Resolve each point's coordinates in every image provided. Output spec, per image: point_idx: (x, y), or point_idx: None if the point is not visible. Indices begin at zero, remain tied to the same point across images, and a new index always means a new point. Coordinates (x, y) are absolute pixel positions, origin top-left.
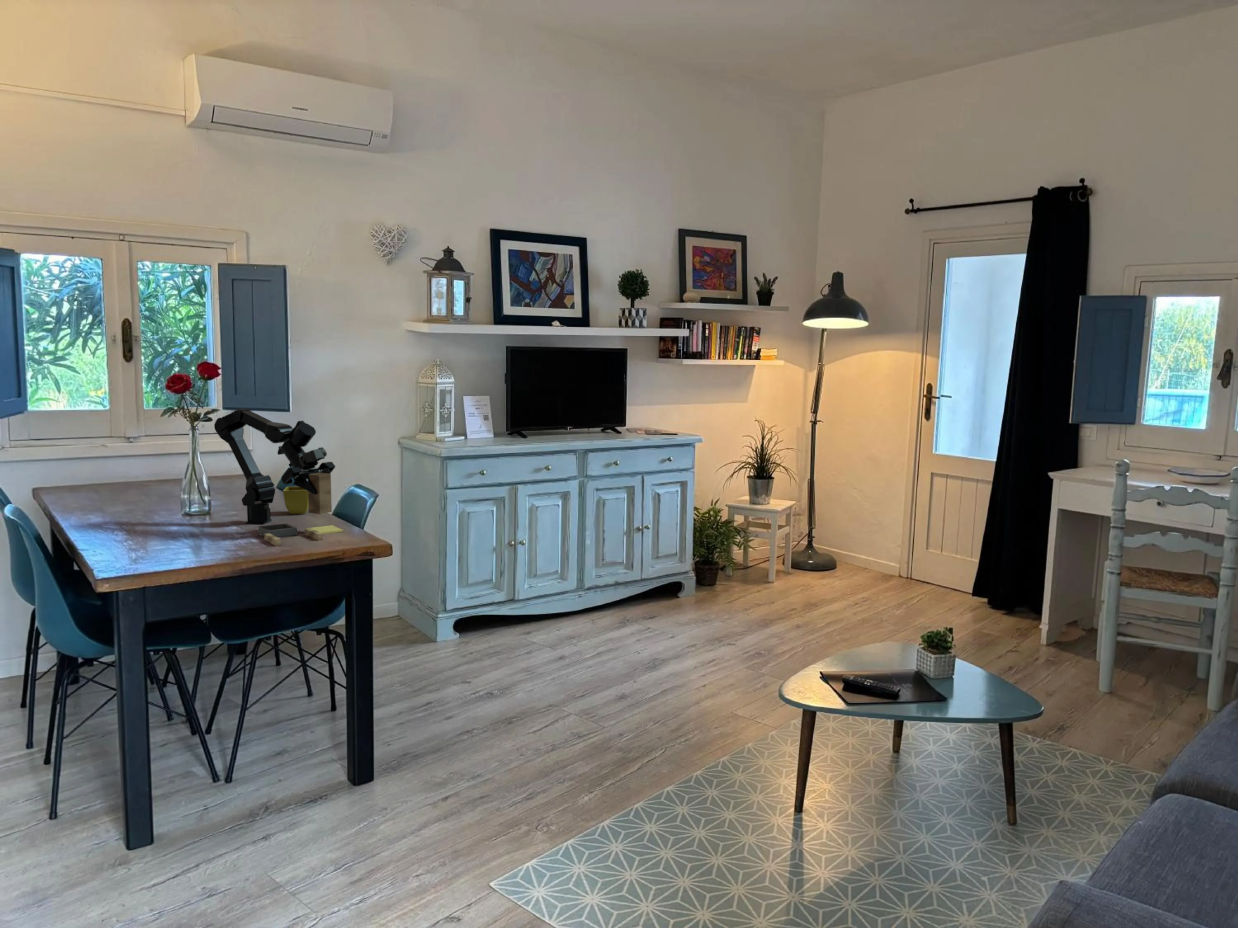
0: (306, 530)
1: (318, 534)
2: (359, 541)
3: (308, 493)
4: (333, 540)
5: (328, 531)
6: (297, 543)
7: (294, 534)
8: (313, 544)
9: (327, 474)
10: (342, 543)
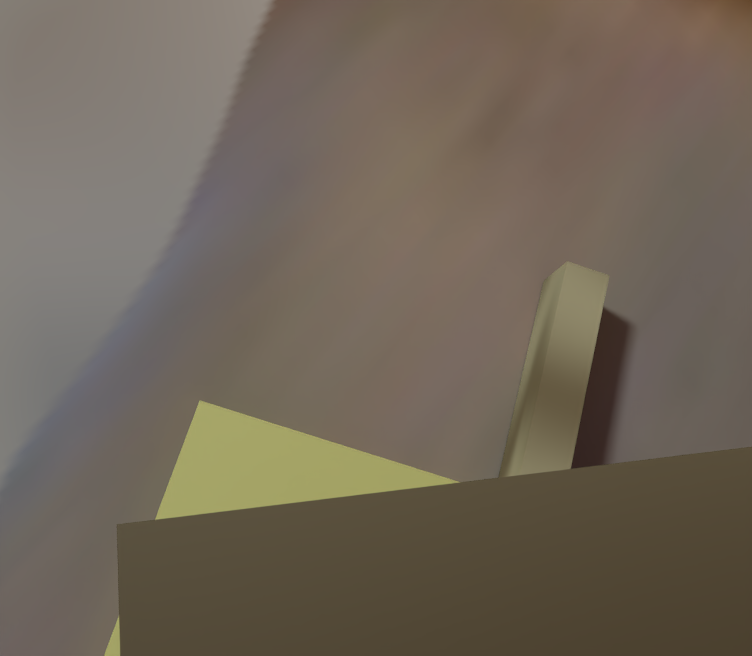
0: None
1: (601, 275)
2: (388, 17)
3: None
4: (496, 198)
5: (343, 456)
6: (747, 343)
7: None
8: (679, 217)
9: (445, 487)
10: (514, 72)
